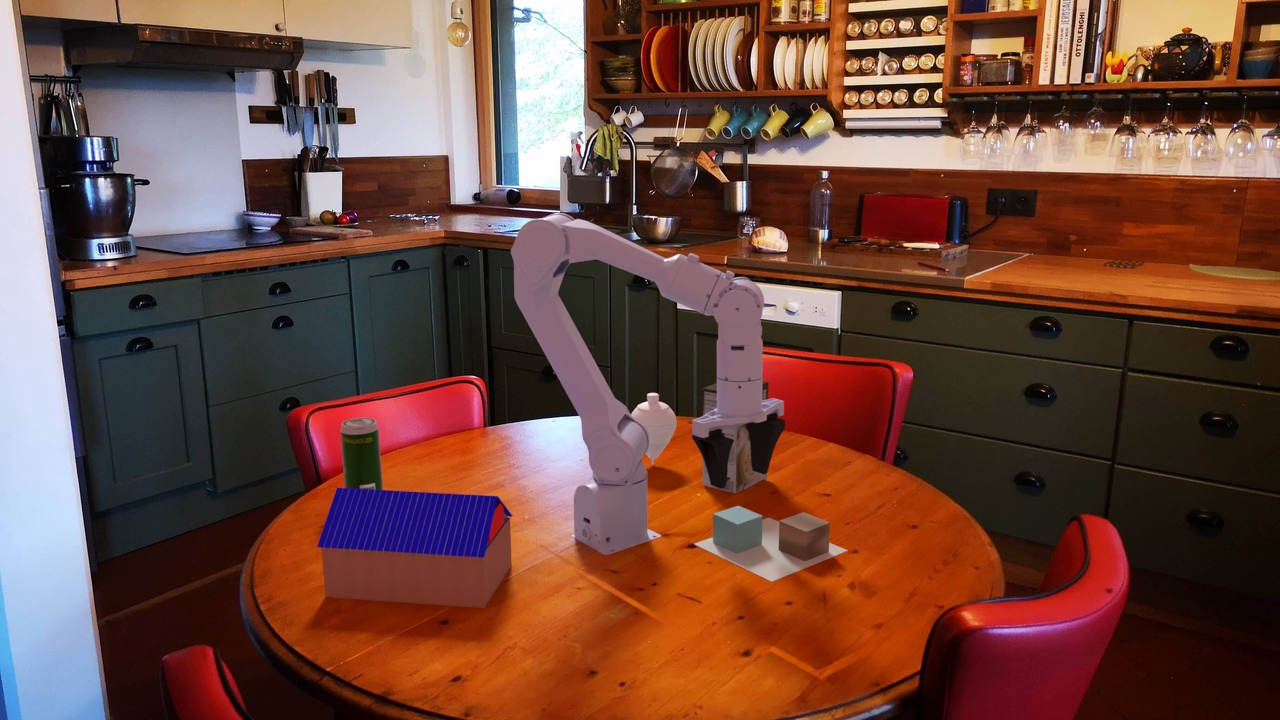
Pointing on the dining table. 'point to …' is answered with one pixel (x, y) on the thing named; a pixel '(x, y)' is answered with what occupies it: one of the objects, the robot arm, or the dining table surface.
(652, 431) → the spinning top
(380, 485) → the beer can
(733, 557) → the mat
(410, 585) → the house
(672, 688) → the dining table surface
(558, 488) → the dining table surface
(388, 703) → the dining table surface
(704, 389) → the coffee box
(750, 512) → the teal block
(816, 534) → the walnut block
